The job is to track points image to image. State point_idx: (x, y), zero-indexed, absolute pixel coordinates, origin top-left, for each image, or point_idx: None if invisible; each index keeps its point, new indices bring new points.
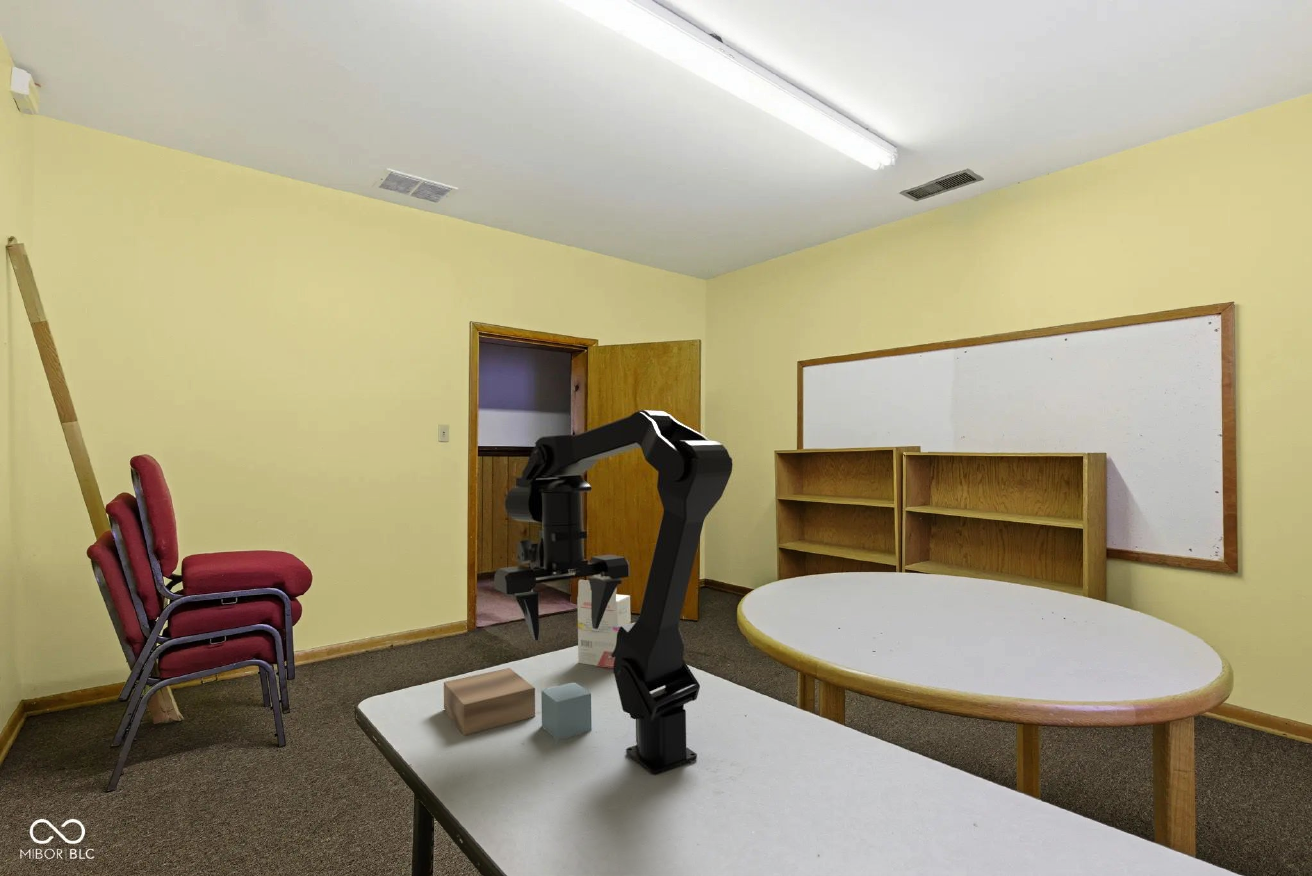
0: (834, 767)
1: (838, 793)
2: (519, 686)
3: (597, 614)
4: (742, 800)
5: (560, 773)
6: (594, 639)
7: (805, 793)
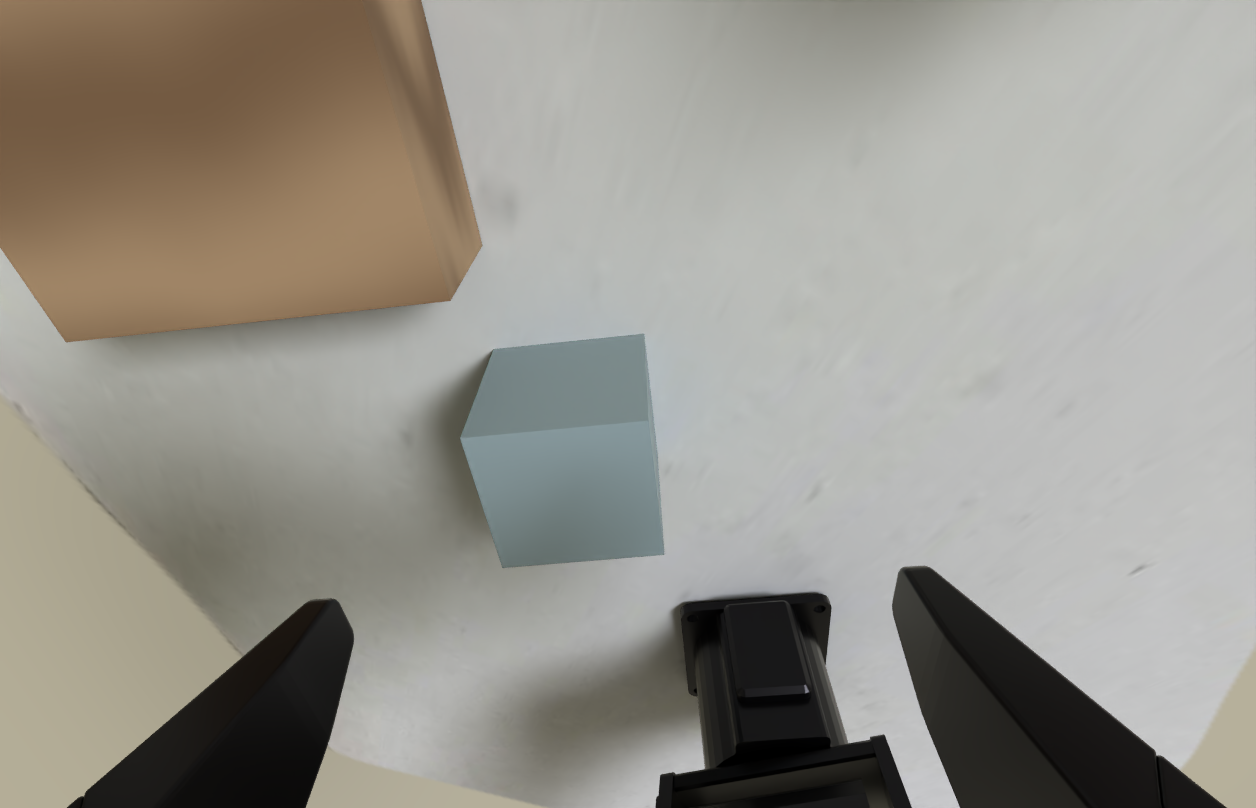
0: None
1: (936, 805)
2: (361, 237)
3: (949, 770)
4: None
5: (490, 608)
6: None
7: None
